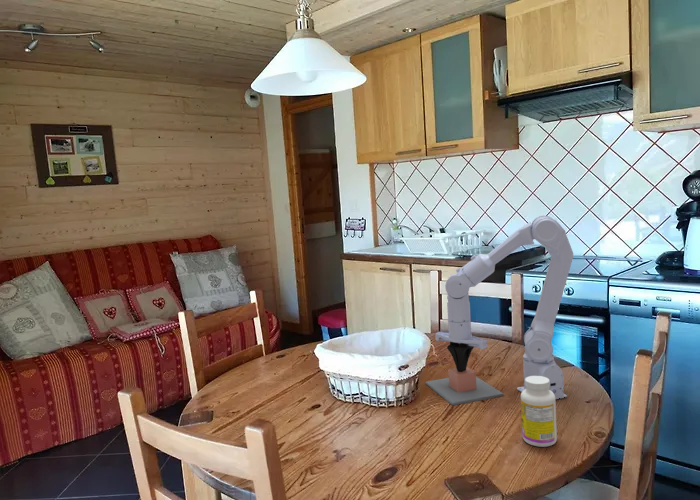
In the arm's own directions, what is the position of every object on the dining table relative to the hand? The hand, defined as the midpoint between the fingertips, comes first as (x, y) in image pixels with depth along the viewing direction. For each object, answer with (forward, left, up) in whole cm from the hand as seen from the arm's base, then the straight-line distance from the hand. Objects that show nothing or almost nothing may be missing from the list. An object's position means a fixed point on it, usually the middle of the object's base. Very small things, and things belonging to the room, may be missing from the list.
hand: (461, 371), depth 134 cm
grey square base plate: (0, 0, -5) cm, 5 cm away
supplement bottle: (-31, -1, -5) cm, 31 cm away
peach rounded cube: (0, 0, -4) cm, 4 cm away
